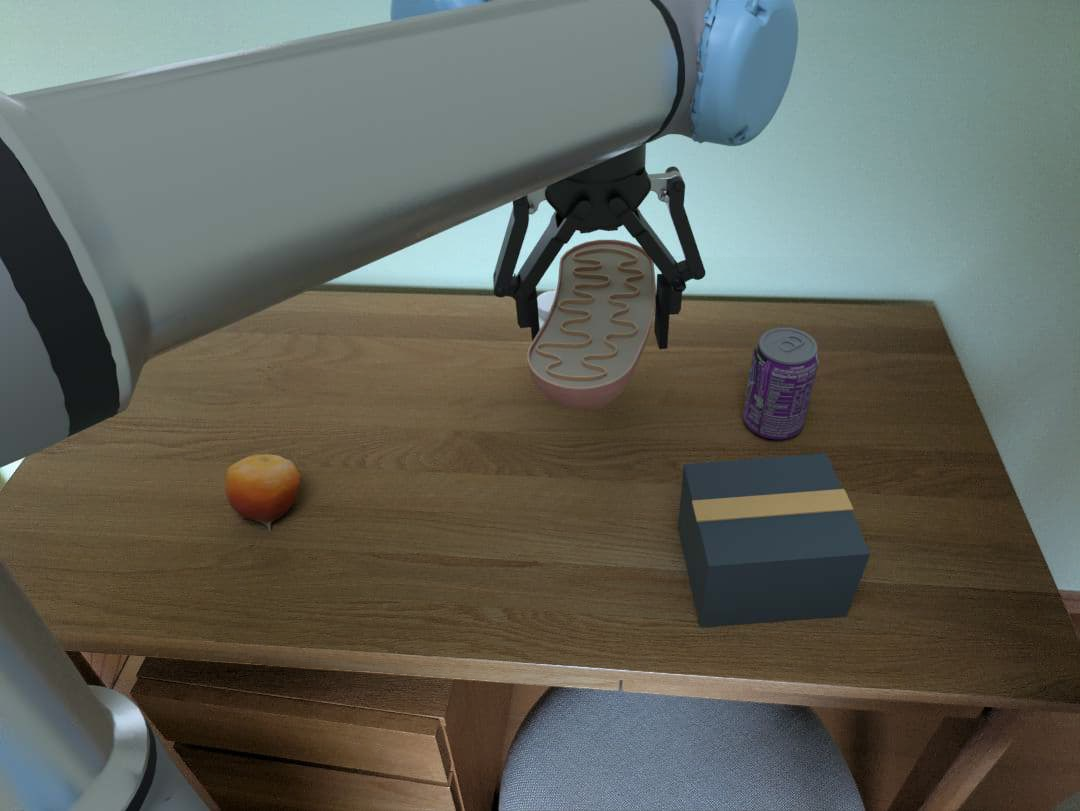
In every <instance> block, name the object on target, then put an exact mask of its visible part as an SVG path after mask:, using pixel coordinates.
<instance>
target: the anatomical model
mask: <svg viewBox="0 0 1080 811" xmlns="http://www.w3.org/2000/svg"><path fill="white" fill-rule="evenodd" d="M558 266H559V267H558V277H557V279H558V280H557V285H556V290H557V291H556V294H555V298H554V301H553V304H552V306H551V309H550V311H549V314H548V316H547V318H546V320H545V322H544V324H543V325H542V327H541V329H540V330H539V332H538V334H537V335H536V337H535V339H534V340H533V342H532V341H531V343H530V345H529V347H528V349H527V352H526V362H527V366H528V369H529V374H530V376H531V379H532V381H533V383H534V384H535V387H536V388H537V389H538V391H539V392H540V393H541V394H542V395H543V396H544V397H545V398H547V399H548V400H549V401H550V402H551V403H552V404H553V403H554V404H556V405H557V406H559V407H561V408H564V409H568V410H571V411H584V412H585V411H591V410H595V409H599V408H602V407H604V406H606V405H608V404H610V403H611V402H613V401H614V400H616V399H617V398H618V397H619V395H621V394H622V393H623V391H624V390H626V388H627V387H628V386H629V384H630V381H631V379H632V377H633V375H634V372H635V370H636V368H637V366H638V363H639V362H640V359H641V358H642V355H643V353H644V350H645V348H646V344H647V342H648V339H649V336H650V332H651V328H652V324H653V318H654V317H655V306H656V286H657V281H656V274H655V264H654V262H653V261H652V260H651V259H650V257H649V256H648V255H647V253H646V252H645V251H644V249H643V248H642V247H641V246H640V245H639V244H634V243H632V242H630V241H625V240H619V239H595V240H590V241H585V242H582V243H579V244H577V245H574V246H573V247H571V248H570V249H568V250H567V251H565V252H564V253H563V255H561V257H560V259H559V265H558Z"/></svg>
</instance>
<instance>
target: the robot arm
mask: <svg viewBox="0 0 1080 811" xmlns="http://www.w3.org/2000/svg"><path fill="white" fill-rule="evenodd" d="M389 8H390V11H389V15H390V20H389V21H383V22H377V23H373V24H368V25H361V26H358V27H353V28H352V27H351V28H348V29H347V28H346V29H343V30H342V29H341V30H337V31H332V32H326V33H322V34H321V33H320V34H317V35H312V36H306V37H302V38H296V39H291V40H285V41H280V42H275V43H271V44H265V45H260V46H256V47H250V48H245V49H240V50H234V51H228V52H223V53H219V54H214V55H208V56H203V57H199V58H192V59H188V60H183V61H178V62H171V63H168V64H167V63H166V64H162V65H158V66H152V67H147V68H141V69H137V70H131V71H125V72H121V73H116V74H112V75H105V76H100V77H95V78H89V79H85V80H81V81H75V82H70V83H65V84H60V85H59V84H58V85H54V86H50V87H44V88H40V89H39V88H38V89H33V90H27V91H23V92H19V93H18V92H17V93H13V94H7V93H6V92H3V91H2V90H0V469H1V468H3V467H7V466H8V465H10V464H13V463H15V462H19V461H20V460H23V459H25V458H28V457H30V456H33V455H34V454H38V453H40V452H42V451H44V450H45V449H47V448H50V447H52V446H54V445H56V444H59V443H60V442H62V441H65V440H66V439H67V438H70V437H71V436H72V437H73V436H74V435H76V434H78V433H80V432H82V431H84V430H87V429H88V428H91V427H93V426H95V425H97V424H99V423H102V422H104V421H106V420H108V419H110V418H114V417H115V416H116V415H119V414H121V413H123V412H125V411H126V410H127V409H128V408H129V407H130V403H131V401H132V398H133V396H134V393H135V390H136V387H137V385H138V383H139V382H138V381H139V379H140V376H141V373H142V371H143V368H144V365H145V364H146V363H148V362H149V361H150V360H153V359H155V358H157V357H159V356H162V355H164V354H166V353H168V352H171V351H173V350H175V349H178V348H180V347H182V346H185V345H187V344H189V343H191V342H194V341H196V340H199V339H200V338H202V337H205V336H208V335H210V334H212V333H214V332H217V331H219V330H221V329H223V328H226V327H228V326H230V325H232V324H235V323H237V322H239V321H242V320H244V319H246V318H248V317H251V316H253V315H255V314H257V313H261V312H262V311H264V310H267V309H269V308H271V307H274V306H276V305H278V304H281V303H283V302H285V301H287V300H290V299H292V298H294V297H297V296H299V295H301V294H304V293H305V292H307V291H310V290H313V289H315V288H317V287H320V286H322V285H324V284H326V283H329V282H331V281H333V280H336V279H338V278H340V277H342V276H344V275H347V274H349V273H351V272H354V271H356V270H358V269H361V268H363V267H366V266H368V265H370V264H372V263H375V262H378V261H379V260H381V259H385V258H386V257H388V256H391V255H393V254H395V253H397V252H400V251H402V250H404V249H406V248H409V247H411V246H414V245H417V244H418V243H420V242H423V241H426V240H427V239H429V238H432V237H434V236H436V235H439V234H441V233H444V232H446V231H448V230H451V229H453V228H455V227H457V226H460V225H461V224H464V223H466V222H469V221H471V220H473V219H475V218H477V217H480V216H482V215H485V214H487V213H488V212H489V213H490V212H491V211H493V210H496V209H499V208H501V207H503V206H505V205H508V204H510V203H512V209H511V212H510V216H509V218H508V219H509V220H508V223H507V226H506V230H505V233H504V236H503V240H502V243H501V247H500V251H499V253H498V257H497V260H496V264H495V266H494V271H493V275H492V283H493V285H492V286H493V294H494V296H496V297H497V298H505V297H506V296H507V297H510V298H512V299H513V300H514V301H515V302H514V303H515V309H516V310H515V311H516V317H517V318H516V320H517V321H516V322H517V325H518V327H519V329H527V328H529V329H530V333H531V343H532V342H533V340H534V339H535V337H536V335H537V334H538V332H539V330H540V328H539V314H538V301H537V297H538V293H537V286H538V285H539V283H540V282H541V280H542V278H543V277H544V275H545V274H546V273H547V271H548V270H549V268H550V266H551V265H552V263H553V262H554V261H555V259H556V258H557V256H558V254H559V253H560V251H561V250H562V248H563V247H564V245H567V244H568V243H569V242H570V240H571V239H572V238H573V236H574V234H575V232H576V231H578V232H579V233H580V235H581V234H589V233H590V234H591V233H593V232H596V231H604V232H605V231H606V232H614V231H615V232H616V231H619V228H620V227H622V226H623V227H624V228H625V229H626V231H627V232H628V234H629V235H630V236H631V237H632V238H633V239H635V240H636V242H637V243H638V245H639V246H640V247H642V248H643V249H644V251H645V252H646V253H647V255H648V256H649V257H650V259H651V260H652V261H653V262H654V266H656V268H657V269H658V271H659V272H660V273H657V274H656V302H655V311H654V327H653V332H654V336H655V341H656V343H657V347H658V350H667V349H668V345H669V330H670V316H672V315H679V314H680V312H681V310H682V301H683V293H684V291H685V290H686V289H687V284H686V283H687V282H688V281H691V280H695V281H700V280H702V279H704V278H705V276H706V269H705V267H704V263H703V260H702V257H701V254H700V251H699V248H698V245H697V242H696V239H695V236H694V233H693V230H692V227H691V223H690V220H689V217H688V215H687V212H686V209H685V195H686V183H685V181H684V179H683V177H682V173H681V171H680V170H679V168H678V167H677V166H669V167H668V168H666V170H665V171H664V172H661V173H650V174H649V173H648V172H647V170H646V159H647V158H646V156H647V155H646V154H647V153H646V152H647V144H649V143H652V142H654V141H656V140H658V139H661V138H664V137H665V136H667V135H679V136H683V137H686V138H689V139H691V140H692V141H693V142H695V143H698V144H704V143H710V144H715V145H719V146H726V147H739V146H743V145H747V144H748V143H750V142H751V141H753V140H755V139H756V138H757V137H759V135H760V134H761V133H762V132H763V131H764V130H765V129H766V127H767V126H768V125H769V124H770V122H771V121H772V120H773V118H774V117H775V115H776V114H777V112H778V110H779V108H780V106H781V104H782V102H783V99H784V97H785V94H786V92H787V89H788V87H789V84H790V80H791V77H792V73H793V69H794V66H795V61H796V55H797V51H798V50H797V48H798V41H799V18H798V13H797V8H796V5H795V2H794V0H390V7H389ZM650 192H653V193H656V196H657V199H658V200H659V201H660V202H662V203H665V204H666V207H667V210H668V214H669V216H670V218H671V222H672V225H673V227H674V230H675V233H676V236H677V239H678V242H679V245H680V248H681V251H682V253H683V255H684V260H680V261H677V260H676V259H675V257H674V255H672V254H671V251H669V249H668V248H667V247H666V245H665V244H664V243H663V241H662V240H661V239H660V237H659V236H658V235H657V233H656V231H654V229H653V228H652V227H651V225H650V224H649V222H648V221H647V220H646V219H645V217H644V215H643V214H642V212H641V211H640V209H639V207H640V205H641V204H643V202H644V201H645V199H646V198H647V197H648V196H649V194H650ZM545 201H546V202H547V203H548V204H549V205H550V207H551V208H552V209H553V210H554V212H553V214H552V215H551V218H550V220H549V223H548V225H547V227H546V228H545V230H544V231H543V233H542V234H541V235H540V237H539V239H538V241H537V243H536V244H535V245H534V247H533V249H532V250H531V252H530V253H529V255H528V256H527V258H526V260H525V261H524V263H522V266H521V268H520V269H519V271H518V273H515V270H516V267H517V263H518V261H519V258H520V254H521V250H522V247H523V244H524V241H525V239H526V238H525V237H526V235H527V232H528V228H529V224H530V215H534V214H535V213H536V212H538V209H539V205H540V204H541V203H542V202H545ZM87 683H88V682H86V681H85V679H84V678H83V676H82V674H81V673H80V671H79V670H78V668H77V667H76V666H75V664H74V663H73V661H72V659H71V658H70V656H69V655H68V653H67V652H66V651H65V649H64V648H63V646H62V644H61V643H60V641H59V640H58V638H57V637H56V635H55V634H54V632H53V630H51V628H50V627H49V626H48V624H47V622H46V621H45V619H44V618H43V616H42V615H41V613H40V611H39V610H38V609H37V608H36V605H35V604H34V603H33V602H32V600H31V599H30V597H29V595H28V594H27V592H26V591H25V589H24V588H23V586H22V585H21V584H20V582H19V581H18V579H17V577H16V576H15V575H14V573H13V572H12V570H11V568H10V567H9V565H8V564H7V563H6V561H5V559H4V558H3V556H2V555H1V554H0V811H211V810H210V808H209V806H208V805H207V804H206V803H205V802H204V800H203V799H202V798H201V796H199V794H198V793H197V792H196V790H194V788H193V787H192V786H191V784H190V783H189V781H187V779H186V778H185V777H184V775H183V774H182V773H181V771H180V770H179V769H178V767H177V766H176V764H175V763H174V761H173V760H172V759H171V757H170V756H169V754H168V753H167V750H166V749H165V748H164V746H163V745H162V743H161V741H160V740H159V738H158V736H157V734H156V733H155V732H154V730H153V728H152V727H151V725H150V723H149V722H148V721H147V718H146V717H145V716H144V714H143V713H142V710H141V709H140V707H138V706H137V705H136V704H135V703H134V702H133V701H132V700H131V699H130V698H128V697H127V696H126V695H125V694H123V693H121V692H119V691H117V690H115V689H112V688H109V687H106V686H100V685H93V684H92V685H91V684H87Z"/></svg>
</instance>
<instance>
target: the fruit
mask: <svg viewBox="0 0 1080 811" xmlns="http://www.w3.org/2000/svg"><path fill="white" fill-rule="evenodd" d="M301 478H302V477H301V473H300V471H299V469H298V467H297V466H296V465H295V463H294V462H293V461H291V460H290V459H287V458H284V457H282V456H280V455H277V454H272V453H271V454H270V453H264V454H263V453H261V454H253V455H249V456H246V457H244V458H242V459H240V460H237V461H236V462H235V463H233V464H231V465H229V467H228V468H227V470H226V475H225V485H224V486H225V495H226V498H227V501H228V503H229V505H230V506H231V508H232V509H233V510H234V511H235V512H236V513H237V514H238V516H239V517H240V518H242V521H244V520H245V519H249V520H252V521H255V522H258V523H259V524H262V525H264V526H266V527H267V530H268V532H270V533H271V531H272V527H271V526H272V523H273V522H274V521H276V520H279V519H280V518H281V517H282V516H284V515H285V514H286V513H287V512H288V511H289V510H290V508H291V507H292V506H293V503H294V502H295V499H296V497H297V494H298V493H299V489H300V487H301V486H300V485H301Z"/></svg>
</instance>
